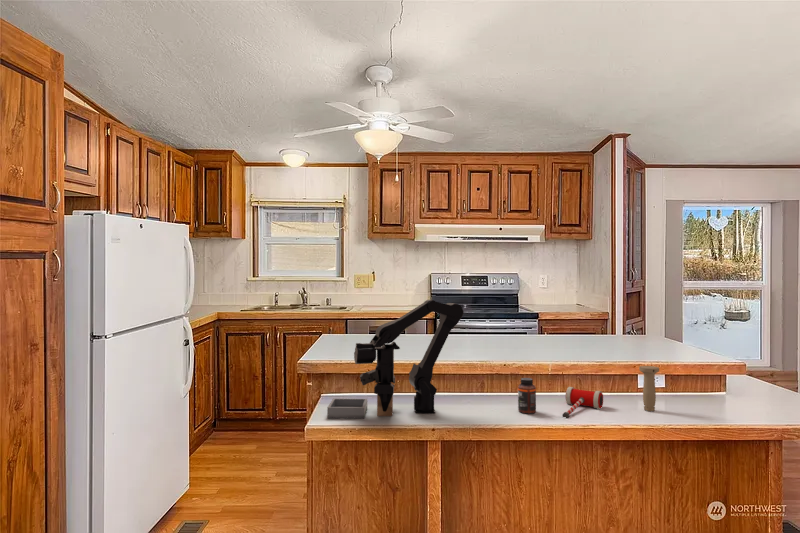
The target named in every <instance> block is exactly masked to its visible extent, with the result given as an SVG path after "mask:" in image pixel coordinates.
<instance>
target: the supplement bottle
mask: <svg viewBox="0 0 800 533" xmlns="http://www.w3.org/2000/svg"><path fill="white" fill-rule="evenodd" d="M536 389H537V388H536V385H535V384H534V379H533V378H531V377H521V379H520V384H519V385H518V386H517V405H518V406H517V411H518V412H519V413H521V412H522V414H525V413H528V414H527V415H529V414H530V413H532V414H535V413H536V412H537V390H536Z"/></svg>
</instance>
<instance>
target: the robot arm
mask: <svg viewBox="0 0 800 533" xmlns="http://www.w3.org/2000/svg"><path fill="white" fill-rule="evenodd" d="M431 313H437V314H439V321H438V326H437V327H436V329H435V332H434V334H433V337H432V339H431V340H430V343H429V344H428V346H427V349H426V351H425V353H424V355H423V357H422V359H421V360H420V362H419V363H418V364H416V363H413V364H412V367H411V369H410V371H408V375H409V376H408V382H409V384H410V386H412V387H413V388H414V391H415V396H413V409H414V411H415V413H416V414H435V413H436V412H435V411H436V410H435V396H436V394H437V391H438V389H437V388H436V386H434V385H433V384H432V379H433V371H434V366H435V365H436V362H437V360H438V358H439V356H440V354H441V351H442V350H443V347H444V346H445V343H446V341H447V339H448V337H449V335H450V333H451V330H453V329H454V328H455V326H457V325H458V324H459V322H460V321H461V319H462V318H463V316H464V309H463V307H462V305H461V304H459V303H452V302H447V303H443V302H438V301H436V300H433V299H427V300H424V301H423V303H421V304H419V305H418V306H417V307H415V308H413V309H411V310H410V311H409V312H406V313H405V314H403V315H402V316H400V317H399V318H397V319H394V320H392V321H388V322H386V323H383V324H380V325H379V326H378V327H376V330H375V334H374V336H373V337H372V338H371V340H370V341H369V343H366V342H365V343H364V342H363V343H361V342H356V343H355V348H354V352H353V356H354V357H353V359H354V364H356V365H361V364H363V365H364V364H365V365H366V364H373V363H374V362H375V361H376V366H375V369H372V370H368V371H366V372H362V373H361V374H360V376H359V378H360V382H361V385H362V386H366V385H368V384H370V383H373V382H374V383H376V384H375V385H374V388H373V390H374V391H373V394H375V395H376V396H377V395H379V396H380V399H381V404H382V409H383V411H384V412H386V411H387V408H388V406H389V403H390V401H391V398H392V395H393V396H394V391H395V383H396V376H395V375H394V373H395V370H394V368H395V364H394V363H395V351H394V350H401V347H400V346H398V344H397V342H395V340H396V339H397V338H399V336H401V334H402V333H403V332H404V330H406V329H407V328H410V327H411V326H412V325H414V324H415V323H417V322H419V321H420V320H422V319H423V318H425V317H426V316H428V315H429V314H431Z"/></svg>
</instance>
